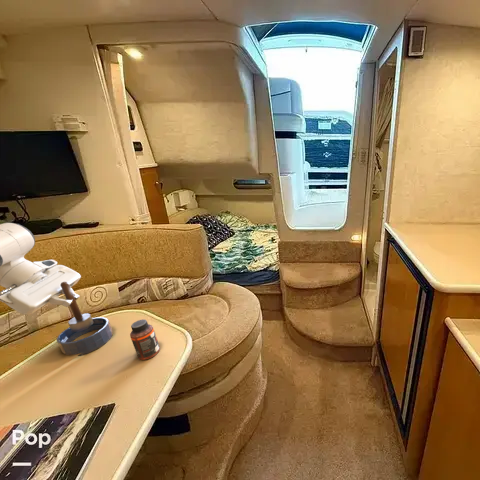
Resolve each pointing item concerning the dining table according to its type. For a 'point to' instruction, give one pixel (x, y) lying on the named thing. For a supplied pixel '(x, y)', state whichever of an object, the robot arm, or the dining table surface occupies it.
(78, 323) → the peg on round base
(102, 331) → the ring
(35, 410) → the dining table surface
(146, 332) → the supplement bottle
